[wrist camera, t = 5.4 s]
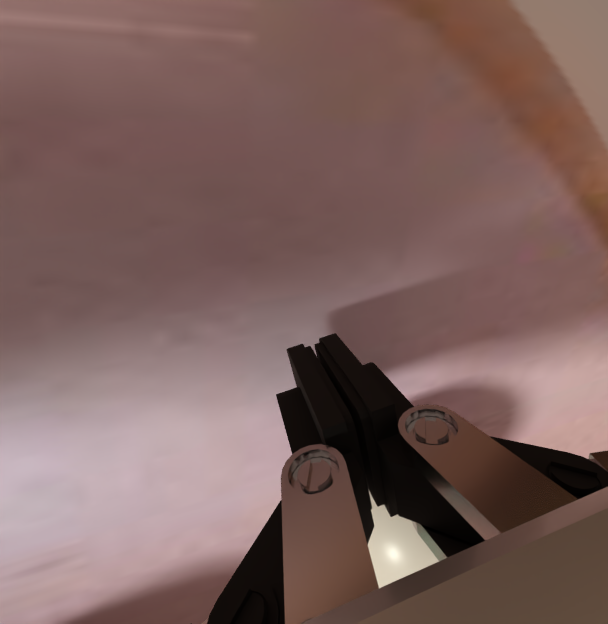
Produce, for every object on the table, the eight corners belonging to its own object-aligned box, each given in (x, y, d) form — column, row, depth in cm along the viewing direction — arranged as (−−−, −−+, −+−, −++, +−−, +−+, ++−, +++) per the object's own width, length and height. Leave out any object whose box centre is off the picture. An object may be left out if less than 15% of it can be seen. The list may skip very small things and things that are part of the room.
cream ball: (467, 710, 9) (351, 569, 14) (551, 543, 11) (424, 471, 16) (380, 604, 8) (283, 486, 13) (497, 433, 10) (374, 389, 15)
